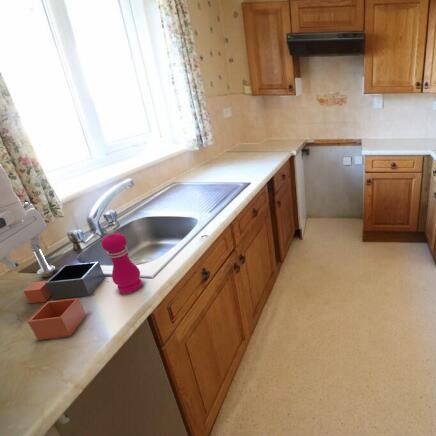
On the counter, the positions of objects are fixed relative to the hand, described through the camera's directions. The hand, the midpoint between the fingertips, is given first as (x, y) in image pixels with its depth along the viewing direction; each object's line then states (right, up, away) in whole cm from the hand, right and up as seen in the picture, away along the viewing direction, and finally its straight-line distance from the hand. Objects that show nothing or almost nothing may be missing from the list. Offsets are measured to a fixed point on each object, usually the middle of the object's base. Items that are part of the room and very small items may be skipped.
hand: (26, 258), depth 91 cm
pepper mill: (+25, -10, +8) cm, 28 cm away
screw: (-7, -8, +16) cm, 19 cm away
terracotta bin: (+16, -17, -7) cm, 25 cm away
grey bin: (+9, -10, +9) cm, 16 cm away
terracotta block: (0, -12, +5) cm, 13 cm away
